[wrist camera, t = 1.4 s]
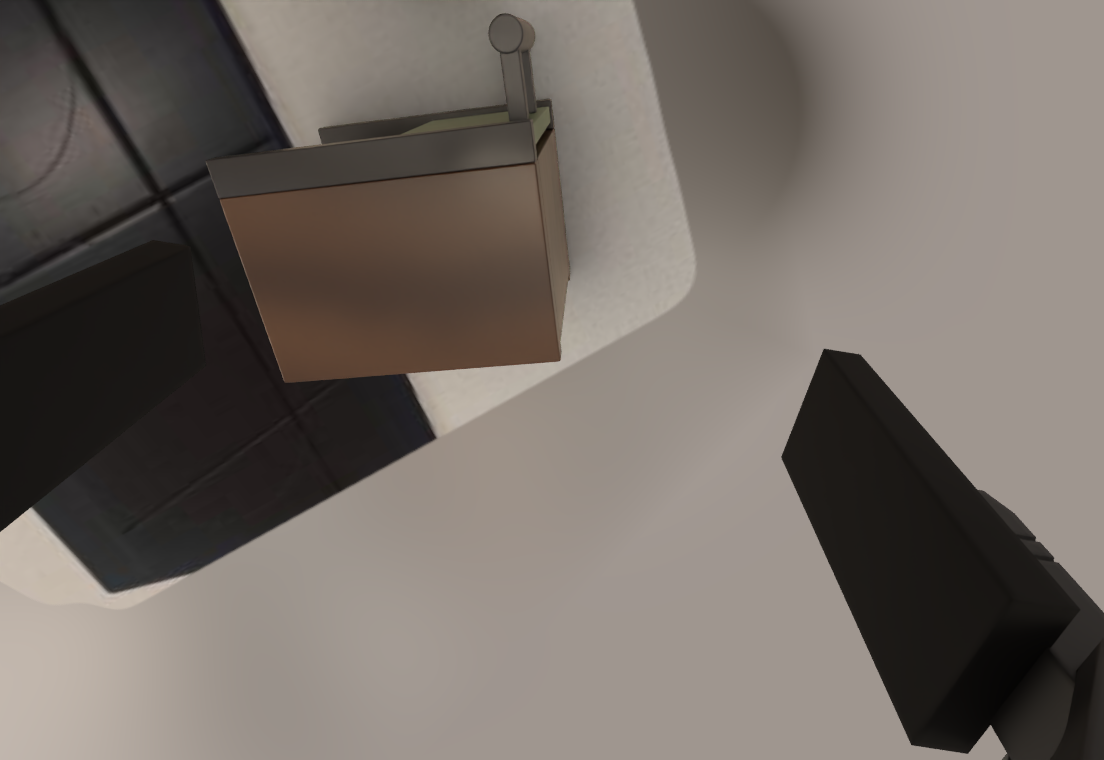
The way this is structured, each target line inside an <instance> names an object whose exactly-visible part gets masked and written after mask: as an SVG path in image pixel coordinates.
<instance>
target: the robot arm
mask: <svg viewBox="0 0 1104 760" xmlns="http://www.w3.org/2000/svg"><path fill="white" fill-rule="evenodd" d="M205 366H206V362H205V354H204V347H203V339H202V332H201V324H200V316H199V309H198V301H197V294H196V286H195V278H194V271H193V263H192V256H191V248H190V246H186V245H179V244H173V243H167V242H161V241H155V240H152V241H150V242H147V243H145V244H143V245H140V246H138V247H136V248H133V249H131V250H129V251H126V252H124V253H122V254H119V255H117V256H115V257H112V258H110V259H108V260H105V261H103V262H101V263H98V264H96V265H94V266H91V267H89V268H87V269H84V270H82V271H80V272H77V273H75V274H73V275H70V276H68V277H66V278H63V279H61V280H59V281H56V282H54V283H52V284H49V285H47V286H45V287H42V288H40V289H38V290H35V291H33V292H31V293H28V294H26V295H24V296H21V297H19V298H17V299H14V300H12V301H10V302H7V303H5V304H3V305H0V532H1V531H2V530H3V529H4V528H6V527H7V526H8V525H9V524H11V523H12V522H13V521H14V520H16V519H17V518H18V517H19V516H21V515H22V514H23V513H24V512H25V511H27V510H28V509H29V508H30V507H32V506H33V505H34V504H35V503H37V502H38V501H39V500H40V499H42V498H43V497H44V496H45V495H47V494H48V493H49V492H50V491H51V490H53V489H54V488H55V487H56V486H58V485H59V484H60V483H61V482H63V481H64V480H65V479H66V478H68V477H69V476H70V475H71V474H73V473H74V472H75V471H76V470H77V469H79V468H80V467H81V466H82V465H84V464H85V463H86V462H87V461H89V460H90V459H91V458H92V457H94V456H95V455H96V454H97V453H99V452H100V451H101V450H102V449H103V448H105V447H106V446H107V445H108V444H110V443H111V442H112V441H113V440H115V439H116V438H117V437H118V436H120V435H121V434H122V433H123V432H125V431H126V430H127V429H128V428H129V427H131V426H132V425H133V424H134V423H136V422H137V421H138V420H139V419H141V418H142V417H143V416H144V415H146V414H147V413H148V412H149V411H150V410H152V409H153V408H154V407H155V406H157V405H158V404H159V403H160V402H162V401H163V400H164V399H165V398H167V397H168V396H169V395H170V394H172V393H173V392H174V391H175V390H176V389H178V388H179V387H180V386H181V385H183V384H184V383H185V382H186V381H188V380H189V379H190V378H191V377H193V376H194V375H195V374H196V373H198V372H199V371H200V370H201V369H202V368H204V367H205ZM782 460H783V462H784V464H785V467H786V469H787V471H788V473H789V475H790V478H791V480H792V482H793V484H794V486H795V489H796V491H797V493H798V495H799V497H800V500H801V502H802V504H803V507H804V509H805V511H806V513H807V515H808V518H809V520H810V522H811V524H812V526H813V528H814V531H815V533H816V535H817V537H818V540H819V542H820V544H821V546H822V548H823V551H824V553H825V555H826V557H827V559H828V562H829V564H830V566H831V568H832V570H833V572H834V575H835V577H836V579H837V582H838V584H839V586H840V588H841V590H842V593H843V595H844V597H845V599H846V602H847V604H848V606H849V608H850V610H851V612H852V615H853V617H854V619H855V621H856V623H857V626H858V628H859V630H860V632H861V635H862V637H863V639H864V641H865V644H866V645H867V648H868V650H869V652H870V654H871V657H872V659H873V661H874V663H875V666H876V668H877V670H878V672H879V674H880V677H881V679H882V681H883V683H884V686H885V687H886V690H887V692H888V694H889V697H890V699H891V701H892V703H893V705H894V707H895V710H896V712H897V714H898V716H899V719H900V721H901V723H902V725H903V727H904V730H905V731H906V734H907V736H908V738H909V741H910V743H911V745H914V746H921V747H928V748H934V749H940V750H947V751H954V752H960V753H966V754H968V753H969V752H970V750H971V749H972V748H973V746H974V745H975V744H976V743H977V741H978V740H979V739H980V737H981V736H982V735H983V734H984V732H985V731H986V730H987V728H988V727H989V726H990V725H991V726H992V728H993V729H994V731H995V733H996V735H997V736H998V738H999V740H1000V741H1001V743H1002V745H1003V746H1004V748H1005V750H1006V752H1007V754H1006V755H1005V757H1004V758H1003V759H1002V760H1104V613H1103V611H1102V610H1101V609H1100V608H1099V607H1098V606H1097V605H1096V604H1095V603H1094V601H1093V600H1092V599H1091V598H1090V597H1089V596H1088V595H1087V594H1086V592H1085V591H1084V590H1083V589H1082V588H1081V587H1080V586H1079V585H1078V584H1077V583H1076V581H1075V580H1074V579H1073V578H1072V577H1071V576H1070V575H1069V574H1068V572H1067V571H1066V570H1065V569H1064V568H1063V567H1062V566H1061V565H1060V564H1059V563H1056V562H1054V557H1053V556H1052V555H1051V554H1050V553H1049V551H1048V550H1047V549H1046V548H1045V547H1044V546H1043V545H1042V544H1041V543H1040V542H1036V541H1035V539H1036V537H1035V536H1034V535H1033V534H1032V533H1031V531H1029V529H1028V528H1027V527H1026V526H1025V525H1024V524H1023V523H1022V521H1021V520H1020V519H1019V518H1018V517H1017V516H1016V515H1015V514H1014V513H1013V512H1012V511H1010V510H1009V509H1008V508H1006V507H1005V506H1004V505H1002V504H1001V503H999V502H998V501H997V500H995V499H994V498H992V497H991V496H990V495H988V494H987V493H986V492H984V491H982V490H977V489H976V488H975V487H974V486H973V485H972V483H971V482H970V481H969V480H968V479H967V477H966V476H965V475H964V474H963V473H962V472H961V471H960V469H959V468H958V467H957V466H956V465H955V464H954V462H953V461H952V460H951V459H950V458H949V457H948V456H947V454H946V453H945V452H944V451H943V450H942V449H941V448H940V446H939V445H938V444H937V443H936V442H935V440H934V439H933V438H932V437H931V436H930V435H929V433H928V432H927V431H926V430H925V429H924V428H923V427H922V425H921V424H920V423H919V422H918V421H917V420H916V418H915V417H914V416H913V415H912V414H911V413H910V412H909V411H908V409H907V408H906V407H905V406H904V405H903V403H902V402H901V401H900V400H899V399H898V398H897V397H896V395H895V394H894V393H893V392H892V391H891V390H890V388H889V387H888V386H887V385H886V384H885V383H884V381H883V380H882V379H881V378H880V377H879V376H878V374H877V373H876V372H875V371H874V370H873V369H872V368H871V366H870V365H869V364H868V363H867V362H866V361H865V359H864V358H863V357H862V356H861V355H859V354H853V353H846V352H841V351H834V350H829V349H824V350H823V352H822V355H821V357H820V360H819V363H818V365H817V368H816V370H815V373H814V376H813V378H812V380H811V383H810V385H809V388H808V390H807V393H806V396H805V398H804V401H803V403H802V406H801V408H800V411H799V413H798V416H797V419H796V421H795V424H794V426H793V429H792V431H791V434H790V436H789V439H788V442H787V444H786V447H785V449H784V452H783V454H782Z"/></svg>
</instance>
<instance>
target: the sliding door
mask: <svg viewBox="0 0 1104 760" xmlns="http://www.w3.org/2000/svg"><path fill="white" fill-rule="evenodd" d="M488 34H489V40H490V42H491V44H492V46H493V47H494V48H495V49H496V50H497V51H498V52H500V58H501V65H502V72H503V79H504V86H505V94H506V101H507V108H508V112H500V113H492V114H484V115H476V116H467V117H459V118H451V119H443V120H435V121H431V122H428V123H426V124H424V125H421V126H419V127H417V128H414V129H412V130H410V131H407V132H405V133H403V134H411V133H419V132H427V131H435V130H443V129H451V128H460V127H468V126H476V125H484V124H492V123H500V122H509V121H517V120H525V119H532V120H533V127H534V135H535V143H537V142H538V140H539V139H540V137H541V136H542V134H543V133H544V131H545V130H546V128H547V126H548V125H549V123H550V113H549V107H540V108H537V105H536V96H535V88H534V79H533V71H532V63H531V54H530V49H531V48H532V47H533V45H534V42H535V31H534V28H533V27H532V25H531V24H530V23H529V22H527V21H525V20H523V19H520V18H518V17H516V16H513V15H511V14H506V13H505V14H500V15H498V16H496V17H495V18H494V19H493V20H492V22H491V24H490V26H489V32H488ZM400 135H402V134H400Z"/></svg>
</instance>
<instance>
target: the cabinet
mask: <svg viewBox="0 0 1104 760" xmlns="http://www.w3.org/2000/svg"><path fill="white" fill-rule="evenodd" d="M536 105H537V108H540V107H549V113H550V123H549V125H548V126H547V128H546V130H545V131H544V133H543V134H542V136H541V137H540V139H539V140H538V142H537V143H535V135H534V127H533V120H532V119H525V120H517V121H509V122H500V123H492V124H484V125H476V126H468V127H460V128H451V129H443V130H435V131H427V132H419V133H411V134H403V133H405V132H407V131H410V130H412V129H414V128H417V127H419V126H421V125H424V124H426V123H428V122H431V121H435V120H443V119H451V118H459V117H467V116H476V115H484V114H492V113H500V112H508V108H507V104H504V105H496V106H488V107H480V108H472V109H464V110H456V111H448V112H440V113H432V114H424V115H416V116H409V117H401V118H393V119H385V120H377V121H369V122H361V123H353V124H345V125H337V126H329V127H323V128H319V129H318V131H319V135H320V138H321V142H322V144H321V145H313V146H304V147H296V148H288V149H280V150H272V151H264V152H255V153H247V154H239V155H231V156H223V157H215V158H212V159H208V160H206V164H207V167H208V169H209V172H210V175H211V178H212V181H213V183H214V186H215V189H216V192H217V195H218V197H219V198H220V202H221V205H222V208H223V211H224V214H225V216H226V219H227V222H228V225H229V228H230V230H231V233H232V236H233V239H234V242H235V244H236V247H237V250H238V253H239V256H240V258H241V261H242V264H243V267H244V270H245V272H246V275H247V278H248V281H249V284H250V286H251V289H252V292H253V295H254V298H255V300H256V303H257V306H258V309H259V312H260V314H261V317H262V320H263V323H264V326H265V328H266V331H267V334H268V337H269V340H270V343H271V345H272V348H273V351H274V354H275V357H276V359H277V362H278V365H279V368H280V371H281V373H282V376H283V379H284V382H285V383H289V382H302V381H315V380H328V379H340V378H353V377H366V376H379V375H391V374H404V373H417V372H430V371H442V370H455V369H468V368H481V367H493V366H506V365H519V364H532V363H544V362H557V361H560V360H561V344H560V340H561V332H562V324H563V316H564V308H565V300H566V292H567V284H568V281H569V280H570V266H569V257H568V248H567V238H566V229H565V220H564V211H563V201H562V192H561V183H560V174H559V165H558V155H557V146H556V137H555V129H554V119H553V109H552V100H551V99H544V100H536ZM400 134H402V135H400Z"/></svg>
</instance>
